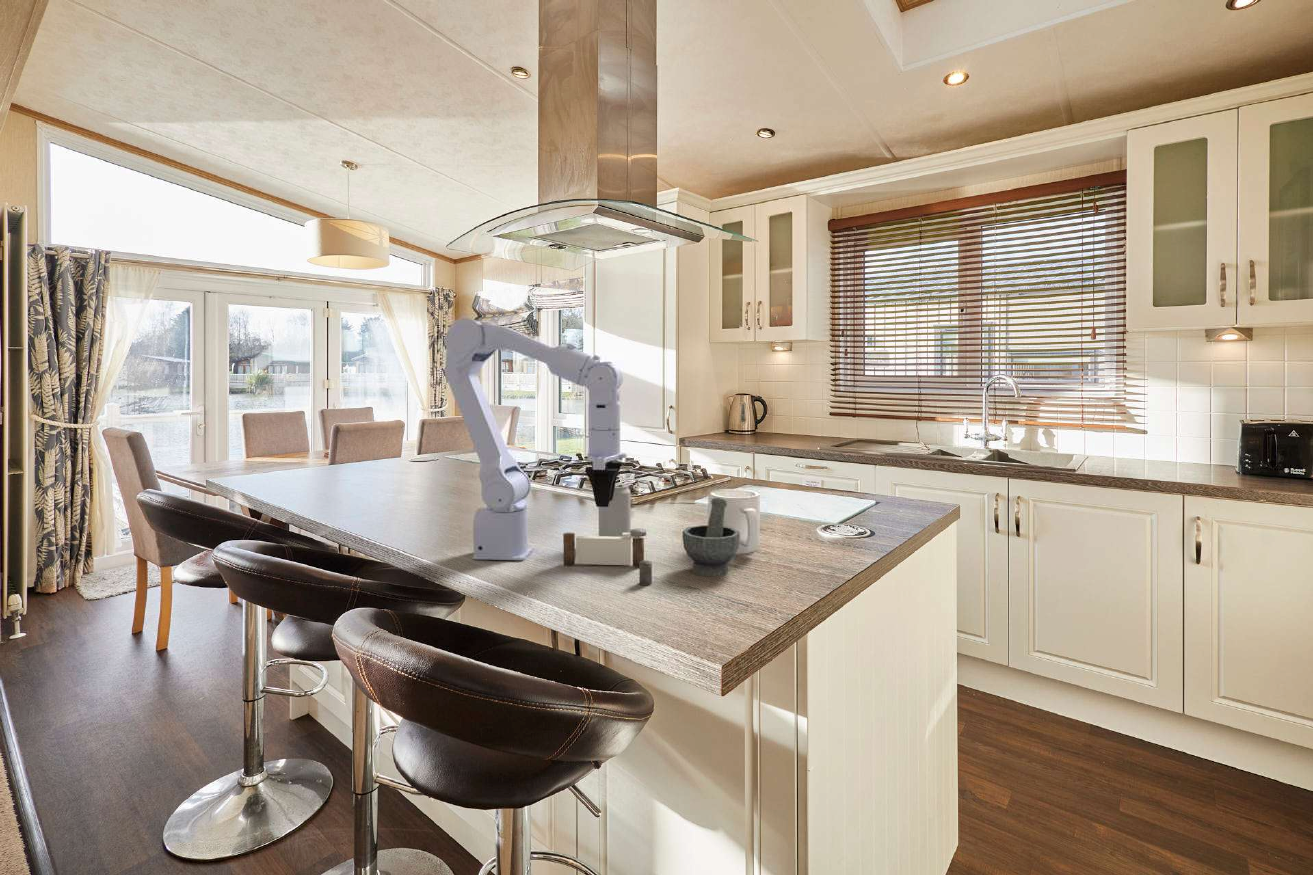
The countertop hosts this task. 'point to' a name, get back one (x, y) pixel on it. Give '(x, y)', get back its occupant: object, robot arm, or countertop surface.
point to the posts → (638, 557)
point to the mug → (740, 515)
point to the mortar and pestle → (711, 542)
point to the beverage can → (616, 513)
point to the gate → (606, 548)
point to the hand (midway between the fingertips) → (604, 503)
